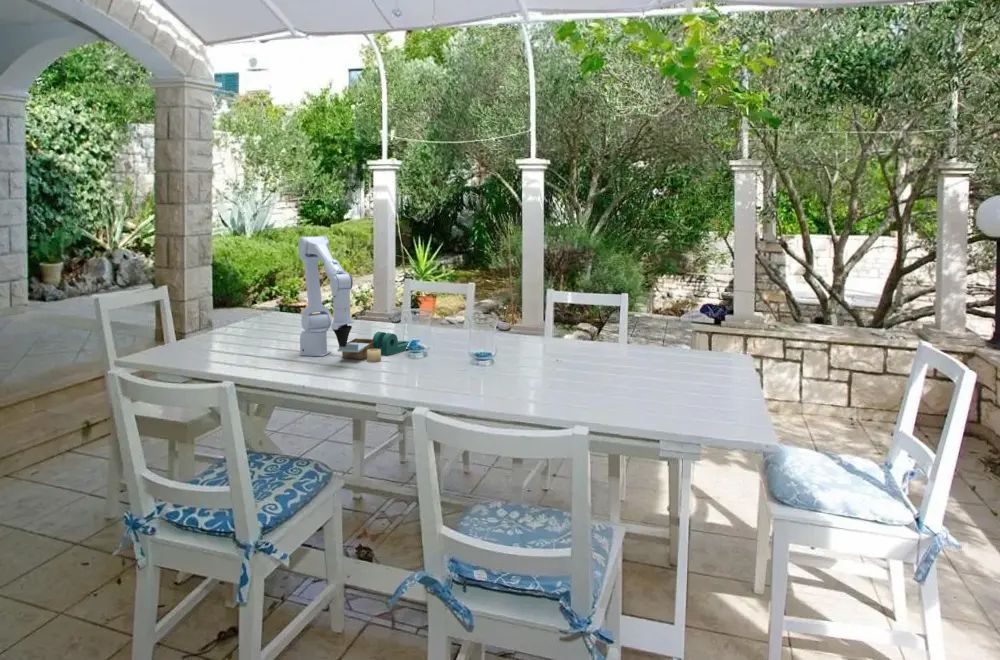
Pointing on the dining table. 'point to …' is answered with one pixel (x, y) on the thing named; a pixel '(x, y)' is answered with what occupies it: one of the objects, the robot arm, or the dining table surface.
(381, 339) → the bracket
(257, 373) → the dining table surface
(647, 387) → the dining table surface
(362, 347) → the lid
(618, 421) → the dining table surface
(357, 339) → the pencil box
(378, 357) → the tape roll
